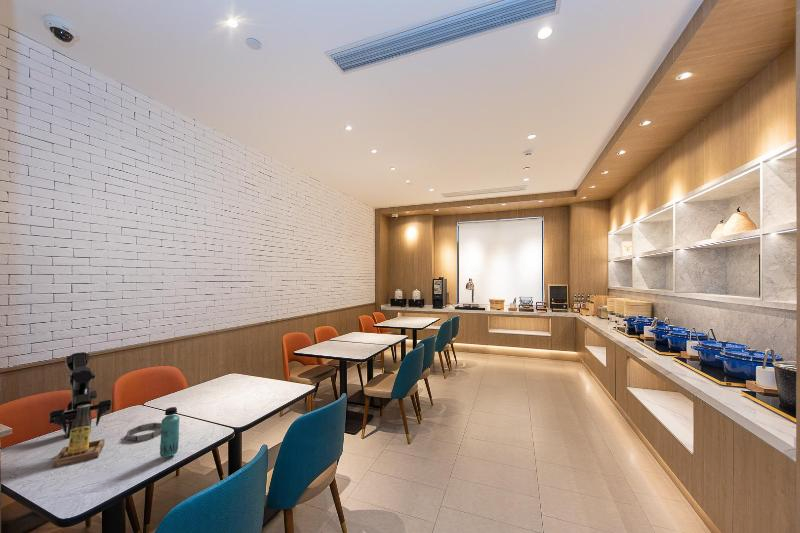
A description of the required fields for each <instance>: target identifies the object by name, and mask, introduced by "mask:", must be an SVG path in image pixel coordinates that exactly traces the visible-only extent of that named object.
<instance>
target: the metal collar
mask: <svg viewBox="0 0 800 533" xmlns="http://www.w3.org/2000/svg"><path fill="white" fill-rule="evenodd" d="M161 426H162V422H156V421H155V422H150V423H144V424H141V425H138V426H135V427H132V428H131V429H128V430H127V432H126V434H125V442H128V443H129V442H130V443H140V442H144V441H148V440H152V439H154V438H157V437H159V436H161V435H160V434H161ZM151 428H153V429H154V428H158V429H155V430H154V431H152V432H150V433H144V434H140V435H136V434H137V433H139V432H141V431H146V430H147V429H148V430H152V429H151ZM148 430H147V431H148ZM151 438H152V439H151Z"/></svg>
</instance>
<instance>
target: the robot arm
mask: <svg viewBox="0 0 800 533" xmlns="http://www.w3.org/2000/svg"><path fill="white" fill-rule="evenodd" d="M89 362H90V354H89V353H87V352H84V351H82V352H81V351H80V352H74V353H72V354H70V355H69V356H66V358H65V367H66V368H67V371H68V373H70V374H69V375H68V384H70V385H71V390H70V391H71V392H70V393H71V394H70V396H71V397H70V399H71V400H70V402H69V403H68V405H67V407H66V410H65V409H64V408H58V409H54V410H51V411H50V412H49V418H48V419H49V420H48V421H49V422H48V423H49V424H53V425H58V426H59V427H60V428H61V429H62V431H63V433H65V434H64V439H65V438H70V430H71V426H72V422H73V421H74V419H75V418H76V416H77V406H79V405H83V404H90V408H89V417H90V418H91V414H92V411H95V410H97V415H96V422H95V425H96V427H97V426H98V425H99V422H100V420H101V418H102V416H103V414H106V413H107V412H108V411H110V410H111V408H112V407H111V406H112V399H110V398H109V399H104V400H100V401H99V400H98V404H94V405H92V403H93V402H92V400H95V399H97V397H98V396H97V394H98V392H97V391H98V390H93V391H91V385H92V381H93V380H94V378H96V374H94V373H93V371H91V367H88V364H89Z"/></svg>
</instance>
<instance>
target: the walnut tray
mask: <svg viewBox="0 0 800 533" xmlns="http://www.w3.org/2000/svg"><path fill="white" fill-rule="evenodd" d="M104 446H105V438H102V439H98V440H93V441H89V448H88V451H87V452H86V453H85V454H80V455H76V456H71V457H68V446H64V447H63V448H62V449H61V450H60V452H59V453H58V454H57V455H56V457H55V458H54V460H53V461H52V469H56V468H60V467H63V466H64V465H65V466H70V465H73V464H77V463H82V462H86V461H90V459H91V460H94V459H99V456H100V454H101V452H102V450H103V448H104ZM59 466H60V467H59Z"/></svg>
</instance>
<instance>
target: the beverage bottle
mask: <svg viewBox="0 0 800 533" xmlns="http://www.w3.org/2000/svg"><path fill="white" fill-rule="evenodd" d="M177 413H178V407H176V406H171V407H170V406H169V407H168V408H166V409H165V412H164V415H165V417H163V418H162V419H161V423H162V426H161V435H160V441H159V442H160V443H159V455H160V457H163V458H166V457H170V456H174V455H176V454H177V453H178V451H179V444H180V443H179V442H180V418H181V417H180V416H179V415H177Z"/></svg>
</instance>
